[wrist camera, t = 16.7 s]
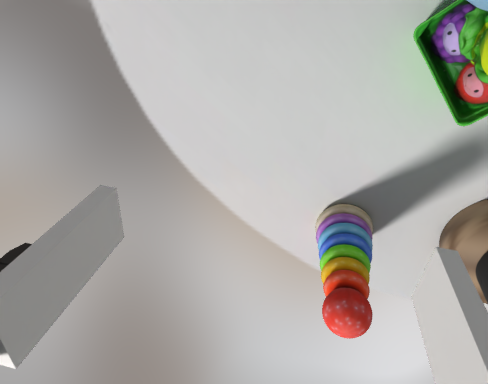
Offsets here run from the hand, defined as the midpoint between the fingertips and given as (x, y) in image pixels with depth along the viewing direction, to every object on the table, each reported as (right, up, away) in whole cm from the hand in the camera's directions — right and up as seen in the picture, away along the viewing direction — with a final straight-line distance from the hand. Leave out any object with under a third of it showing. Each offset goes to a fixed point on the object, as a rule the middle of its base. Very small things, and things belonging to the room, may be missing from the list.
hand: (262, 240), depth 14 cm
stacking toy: (+14, -3, +35) cm, 38 cm away
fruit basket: (+23, +17, +21) cm, 35 cm away
